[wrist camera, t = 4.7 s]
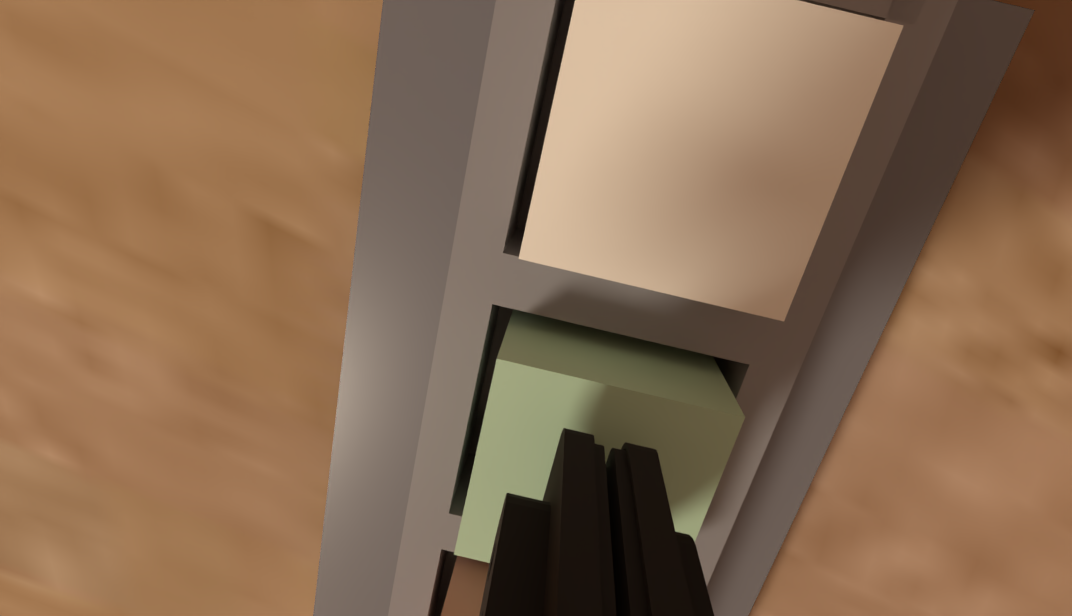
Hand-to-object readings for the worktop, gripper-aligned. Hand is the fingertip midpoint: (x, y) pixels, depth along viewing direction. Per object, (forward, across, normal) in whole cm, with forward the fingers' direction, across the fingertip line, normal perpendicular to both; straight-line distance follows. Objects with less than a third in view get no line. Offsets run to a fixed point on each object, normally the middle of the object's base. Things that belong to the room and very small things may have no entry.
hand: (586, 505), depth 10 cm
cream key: (+4, 0, -6) cm, 7 cm away
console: (+6, 0, 0) cm, 6 cm away
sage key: (+4, 0, 0) cm, 4 cm away
